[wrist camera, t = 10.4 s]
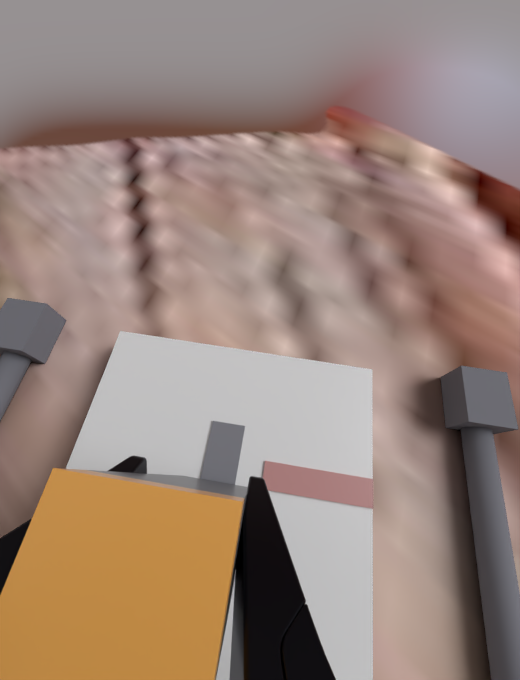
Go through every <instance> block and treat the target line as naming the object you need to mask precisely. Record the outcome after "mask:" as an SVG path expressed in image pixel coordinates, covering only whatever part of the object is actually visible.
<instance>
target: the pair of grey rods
mask: <svg viewBox="0 0 520 680" xmlns="http://www.w3.org/2000/svg"><path fill="white" fill-rule="evenodd" d="M65 322H66V320H65V319H64V318H63V317H62V316H61V315H59V314H58V313H57V312H56V311H55V310H54V309H52V308H51V307H50V306H49V305H48V304H45V303H38V302H32V301H25V300H18V299H12V298H7V300H6V302H5V303H4V305H3V307H2V308H1V310H0V354H1V357H0V421H1V419H2V417H3V415H4V413H5V411H6V409H7V407H8V406H9V404H10V402H11V400H12V398H13V396H14V394H15V392H16V390H17V388H18V386H19V384H20V382H21V380H22V378H23V376H24V374H25V373H26V371H27V369H28V367H29V365H30V363H31V362H38V363H44V364H45V363H46V361H47V359H48V357H49V355H50V353H51V351H52V348H53V346H54V344H55V342H56V340H57V338H58V336H59V334H60V332H61V330H62V328H63V326H64V324H65ZM441 387H442V396H443V406H444V416H445V426H446V428H450V429H456V430H461V437H462V445H463V454H464V462H465V470H466V478H467V486H468V494H469V503H470V511H471V519H472V527H473V535H474V543H475V551H476V560H477V568H478V576H479V584H480V592H481V600H482V608H483V617H484V625H485V633H486V641H487V649H488V657H489V665H490V674H491V680H520V593H519V587H518V581H517V575H516V569H515V563H514V557H513V551H512V545H511V539H510V533H509V527H508V521H507V515H506V509H505V503H504V497H503V491H502V485H501V479H500V473H499V467H498V461H497V455H496V449H495V443H494V437H493V434H497V433H502V432H507V431H513V430H518V425H517V420H516V416H515V411H514V406H513V401H512V396H511V391H510V386H509V381H508V376H507V373H506V372H499V371H493V370H486V369H479V368H473V367H466V366H460V367H458V368H456V369H455V370H453V371H451V372H449V373H447V374H446V375H444V376H442V377H441Z"/></svg>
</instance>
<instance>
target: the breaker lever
mask: <svg viewBox="0 0 520 680" xmlns="http://www.w3.org/2000/svg"><path fill="white" fill-rule="evenodd" d="M247 488H248V487H245V486H239V485H233V484H228V483H222V482H216V481H211V480H205V479H199V478H194V477H188V476H179V475H162V474H145V473H129V472H112V471H96V470H79V469H62V468H53V469H52V472H51V474H50V477H49V479H48V481H47V484H46V486H45V489H44V491H43V493H42V496H41V498H40V501H39V503H38V505H37V508H36V510H35V513H34V515H33V518H32V520H31V522H30V525H29V527H28V530H27V532H26V534H25V537H24V539H23V542H22V544H21V546H20V549H19V551H18V554H17V556H16V558H15V561H14V563H13V566H12V568H11V571H10V573H9V575H8V578H7V580H6V583H5V585H4V587H3V590H2V592H1V595H0V680H216V676H217V671H218V666H219V661H220V655H221V650H222V645H223V640H224V635H225V629H226V624H227V619H228V614H229V608H230V603H231V598H232V593H233V588H234V582H235V572H236V563H237V556H238V549H239V542H240V535H241V528H242V521H243V514H244V508H245V503H246V497H247Z"/></svg>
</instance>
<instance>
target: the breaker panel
mask: <svg viewBox="0 0 520 680" xmlns="http://www.w3.org/2000/svg"><path fill="white" fill-rule="evenodd" d="M130 456H140V457H145V458H146V460H147V474H162V475H179V476H188V477H194V478H199V479H205V480H211V481H216V482H222V483H228V484H233V485H239V486H245V487H248V482H249V478H250V476H255V477H261V478H263V479H264V480H265V483H266V486H267V489H268V491H269V494H270V497H271V500H272V503H273V506H274V509H275V512H276V515H277V518H278V521H279V524H280V527H281V529H282V532H283V535H284V538H285V541H286V544H287V547H288V550H289V553H290V556H291V559H292V562H293V564H294V567H295V570H296V573H297V576H298V579H299V582H300V585H301V588H302V591H303V594H304V597H305V600H306V603H305V604H307V605H308V608H309V611H310V614H311V617H312V619H313V622H314V625H315V628H316V631H317V633H318V636H319V639H320V641H321V644H322V647H323V649H324V652H325V655H326V657H327V659H328V662H329V664H330V666H331V669H332V671H333V673H334V676H335V678H336V680H373V532H372V509H373V479H372V369H366V368H359V367H353V366H346V365H340V364H333V363H327V362H320V361H313V360H307V359H300V358H294V357H287V356H281V355H274V354H268V353H261V352H254V351H248V350H241V349H235V348H228V347H222V346H215V345H209V344H202V343H195V342H189V341H182V340H176V339H169V338H163V337H156V336H149V335H143V334H136V333H130V332H123V331H120V333H119V336H118V338H117V341H116V343H115V346H114V348H113V351H112V353H111V356H110V359H109V361H108V364H107V366H106V369H105V371H104V374H103V376H102V379H101V381H100V384H99V386H98V389H97V391H96V394H95V396H94V399H93V401H92V404H91V406H90V409H89V411H88V414H87V416H86V419H85V421H84V424H83V426H82V429H81V431H80V434H79V436H78V439H77V441H76V444H75V446H74V449H73V451H72V454H71V456H70V459H69V461H68V464H67V466H66V469H79V470H96V471H108V470H109V469H111V468H113V467H114V466H116V465H117V464H119V463H121V462H122V461H124V460H125V459H127V458H128V457H130ZM234 589H235V582H234V588H233V593H232V598H231V603H230V608H229V614H228V619H227V624H226V629H225V635H224V640H223V645H222V650H221V655H220V661H219V666H218V671H217V676H216V680H229V678H230V660H231V642H232V624H233V607H234Z"/></svg>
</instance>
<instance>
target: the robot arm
mask: <svg viewBox="0 0 520 680" xmlns="http://www.w3.org/2000/svg"><path fill="white" fill-rule="evenodd" d="M108 471H112V472H129V473H145V474H147V460H146V458H145V457H140V456H130V457H128V458H127V459H125V460H124V461H122V462H121V463H119V464H117V465H116V466H114V467H113V468H111V469H109V470H108ZM31 520H32V519H30V520H29V521H27V522H25V523H24V524H22V525H21V526H19V527H17V528H16V529H14V530H13V531H11V532H10V533H8V534H6V535H5V536H3V537H2V538H0V595H1V592H2V590H3V587H4V585H5V583H6V580H7V578H8V575H9V573H10V571H11V568H12V566H13V563H14V561H15V558H16V556H17V554H18V551H19V549H20V546H21V544H22V542H23V539H24V537H25V534H26V532H27V530H28V527H29V525H30V522H31ZM305 603H306V600H305V597H304V594H303V591H302V588H301V585H300V582H299V579H298V576H297V573H296V570H295V567H294V564H293V562H292V559H291V556H290V553H289V550H288V547H287V544H286V541H285V538H284V535H283V532H282V529H281V527H280V524H279V521H278V518H277V515H276V512H275V509H274V506H273V503H272V500H271V497H270V494H269V491H268V489H267V486H266V483H265V480H264V479H263V478H261V477H255V476H250V478H249V482H248V488H247V497H246V503H245V508H244V514H243V521H242V528H241V535H240V542H239V549H238V556H237V563H236V572H235V589H234V607H233V624H232V642H231V660H230V678H229V680H336V678H335V676H334V673H333V671H332V669H331V666H330V664H329V662H328V659H327V657H326V655H325V652H324V649H323V647H322V644H321V641H320V639H319V636H318V633H317V631H316V628H315V625H314V622H313V619H312V617H311V614H310V611H309V608H308V605H307V604H305Z"/></svg>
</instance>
